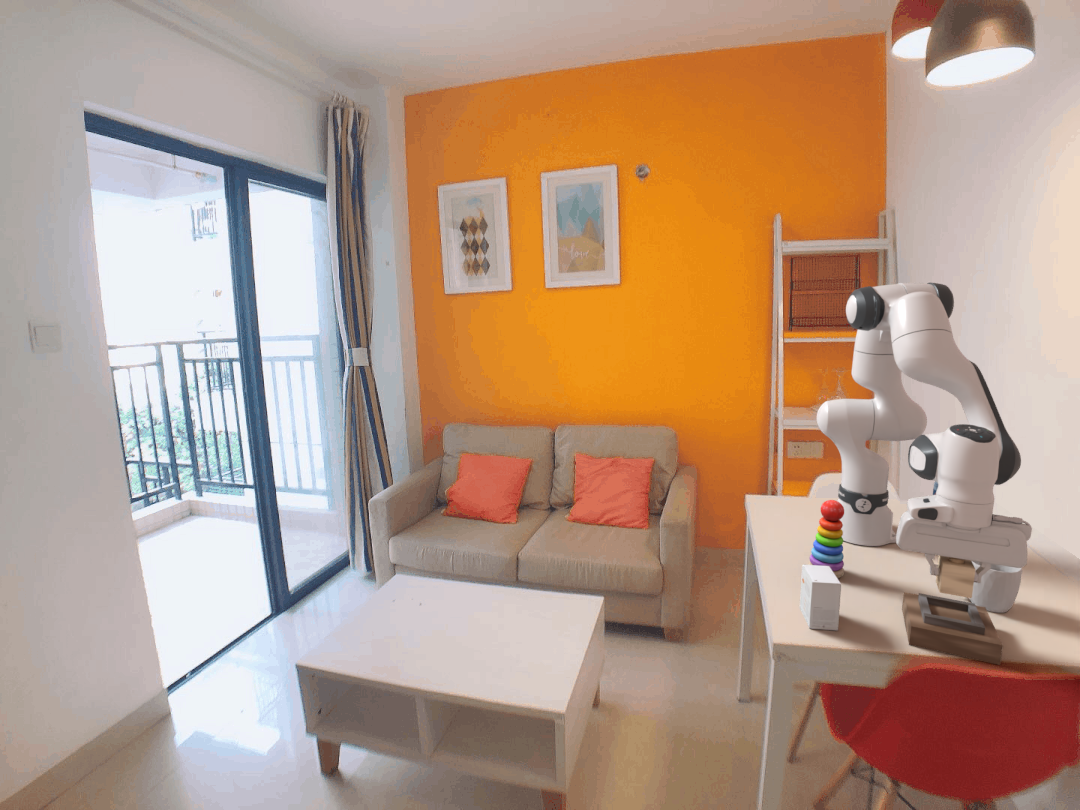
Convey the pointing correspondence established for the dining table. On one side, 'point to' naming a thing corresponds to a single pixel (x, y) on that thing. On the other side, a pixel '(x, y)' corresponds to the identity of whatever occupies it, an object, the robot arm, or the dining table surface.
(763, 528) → the dining table surface
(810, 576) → the small box
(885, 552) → the dining table surface
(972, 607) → the base block
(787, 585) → the dining table surface
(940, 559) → the maple brick
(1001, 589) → the mug
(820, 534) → the stacking toy
